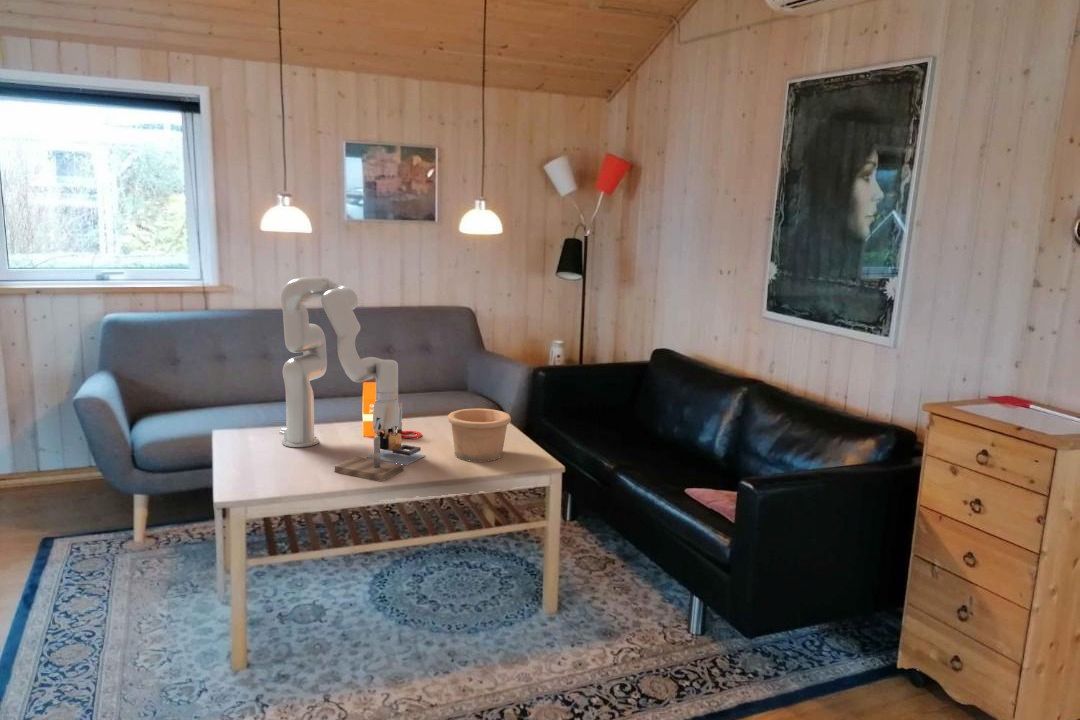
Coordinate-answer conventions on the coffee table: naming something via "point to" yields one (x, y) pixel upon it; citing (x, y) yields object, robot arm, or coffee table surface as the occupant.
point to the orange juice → (368, 408)
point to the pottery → (478, 433)
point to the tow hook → (405, 431)
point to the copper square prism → (399, 445)
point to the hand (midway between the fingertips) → (386, 447)
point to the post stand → (369, 466)
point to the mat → (397, 457)
